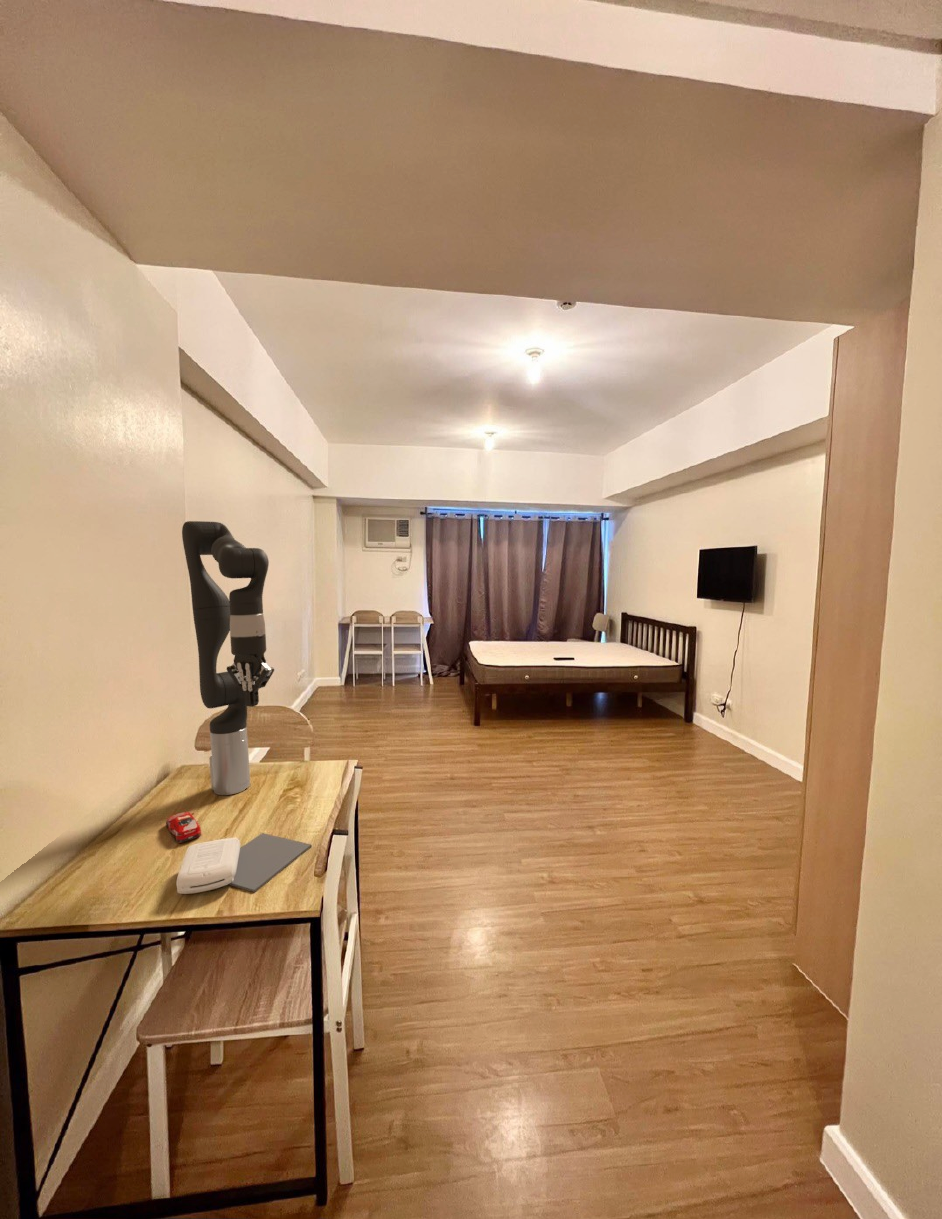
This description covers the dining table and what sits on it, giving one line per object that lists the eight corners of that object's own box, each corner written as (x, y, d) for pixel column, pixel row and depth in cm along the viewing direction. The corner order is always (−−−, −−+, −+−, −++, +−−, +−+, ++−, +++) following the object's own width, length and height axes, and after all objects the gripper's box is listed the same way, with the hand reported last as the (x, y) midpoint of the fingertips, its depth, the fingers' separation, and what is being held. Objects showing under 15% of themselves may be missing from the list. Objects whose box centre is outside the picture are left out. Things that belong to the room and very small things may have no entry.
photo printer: (186, 864, 99) (173, 903, 87) (185, 844, 98) (172, 881, 87) (241, 853, 103) (236, 889, 91) (240, 834, 102) (234, 868, 91)
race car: (164, 826, 116) (163, 810, 116) (189, 818, 120) (188, 802, 120) (176, 848, 106) (175, 831, 106) (203, 838, 110) (202, 821, 110)
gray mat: (201, 876, 96) (200, 874, 96) (262, 835, 111) (262, 833, 111) (254, 892, 91) (254, 890, 91) (311, 846, 105) (311, 844, 105)
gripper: (213, 634, 111) (218, 707, 113) (257, 636, 106) (261, 712, 108) (239, 630, 118) (243, 699, 120) (281, 632, 113) (285, 703, 115)
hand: (252, 705), depth 114 cm, fingers closed
